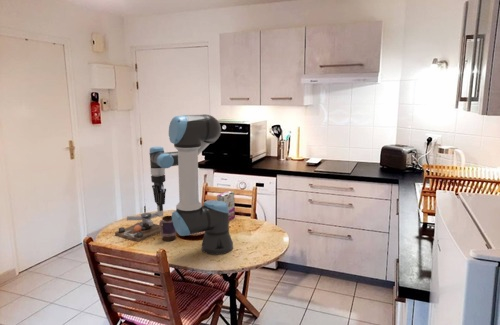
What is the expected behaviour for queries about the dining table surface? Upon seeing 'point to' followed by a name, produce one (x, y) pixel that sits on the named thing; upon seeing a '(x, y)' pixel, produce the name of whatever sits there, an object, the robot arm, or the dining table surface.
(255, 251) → the dining table surface
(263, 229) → the dining table surface
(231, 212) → the candy bar box
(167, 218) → the mug
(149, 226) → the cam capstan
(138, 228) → the ball
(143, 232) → the walnut stand
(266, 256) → the dining table surface
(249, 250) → the dining table surface
